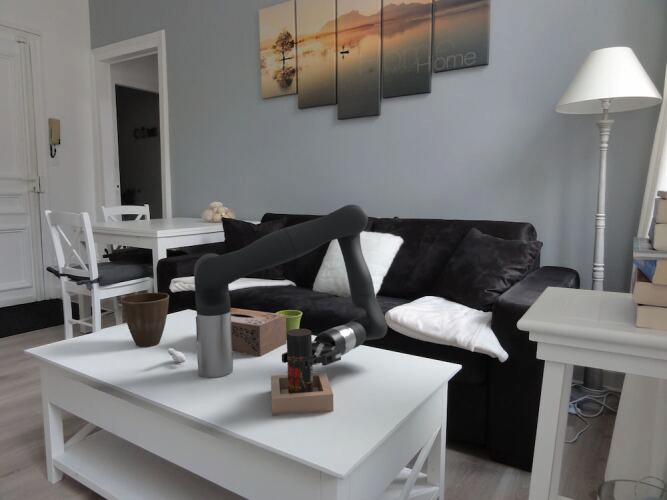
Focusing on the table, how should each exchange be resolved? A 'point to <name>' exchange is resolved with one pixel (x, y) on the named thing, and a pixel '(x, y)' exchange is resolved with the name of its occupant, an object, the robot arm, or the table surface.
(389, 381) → the table surface
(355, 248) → the robot arm
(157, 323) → the plant pot
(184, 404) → the table surface
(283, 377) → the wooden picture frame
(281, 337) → the tissue box cover
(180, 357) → the rabbit figurine
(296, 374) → the deodorant
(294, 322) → the plant pot
